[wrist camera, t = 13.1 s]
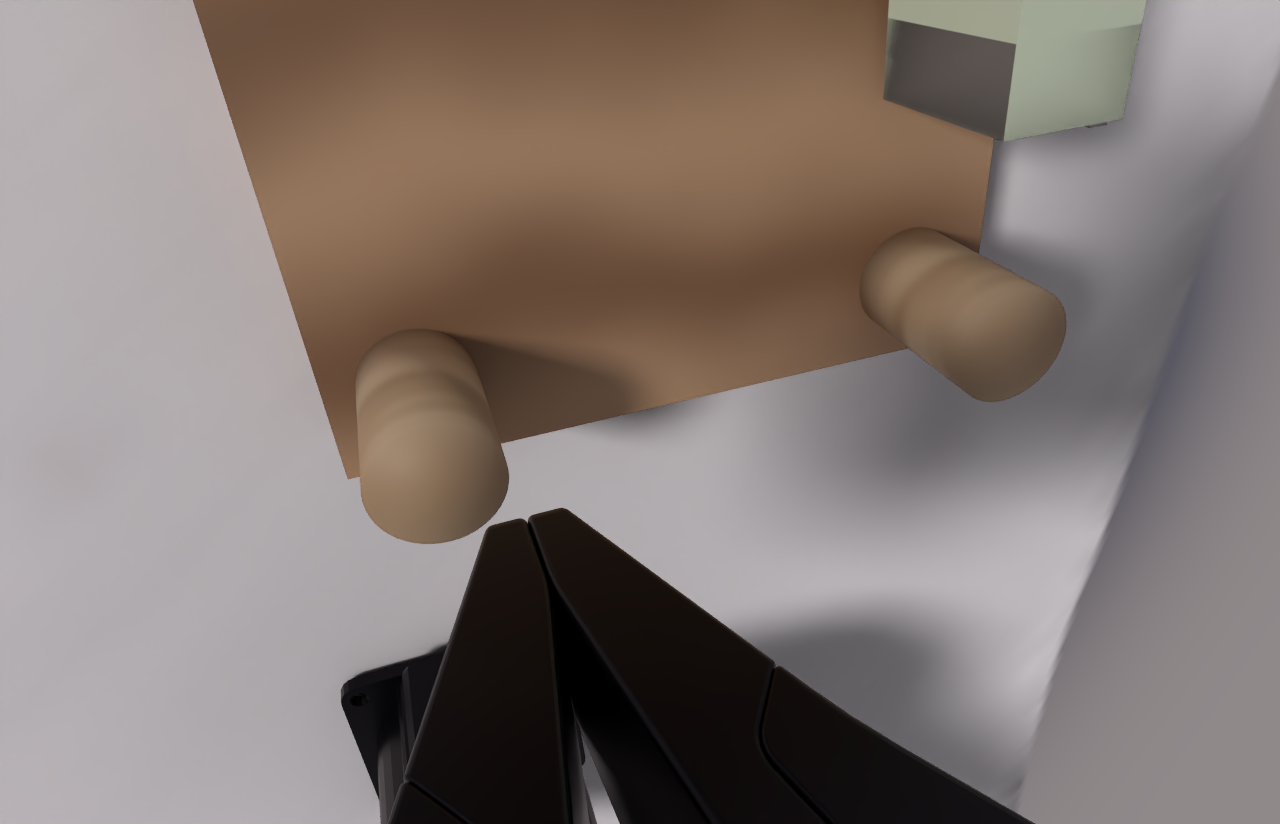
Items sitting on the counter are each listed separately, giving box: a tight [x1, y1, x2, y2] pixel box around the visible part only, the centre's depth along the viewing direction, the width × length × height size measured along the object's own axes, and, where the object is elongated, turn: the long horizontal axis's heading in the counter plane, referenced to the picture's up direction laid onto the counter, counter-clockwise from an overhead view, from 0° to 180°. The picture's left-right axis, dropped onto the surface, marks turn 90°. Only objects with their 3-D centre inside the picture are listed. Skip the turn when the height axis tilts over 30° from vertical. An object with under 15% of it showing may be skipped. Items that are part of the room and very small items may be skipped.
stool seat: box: [193, 0, 1107, 544], centre depth 16 cm, size 18×16×6 cm
